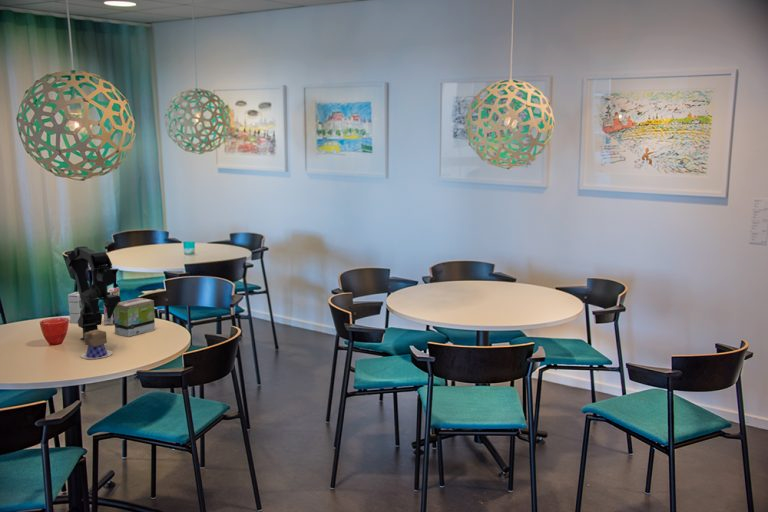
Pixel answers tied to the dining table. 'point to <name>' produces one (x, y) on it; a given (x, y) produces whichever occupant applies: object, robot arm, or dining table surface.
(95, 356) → the pudding
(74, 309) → the syrup box
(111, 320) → the candy bar box
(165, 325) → the dining table surface
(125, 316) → the tea box
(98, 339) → the walnut block
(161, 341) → the dining table surface
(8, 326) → the dining table surface
